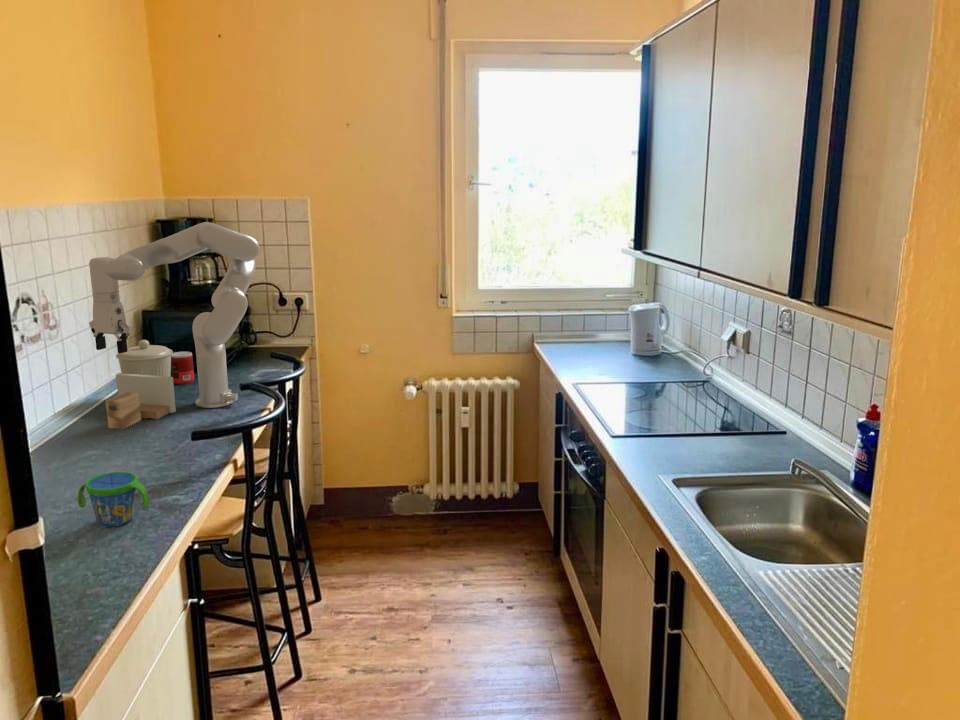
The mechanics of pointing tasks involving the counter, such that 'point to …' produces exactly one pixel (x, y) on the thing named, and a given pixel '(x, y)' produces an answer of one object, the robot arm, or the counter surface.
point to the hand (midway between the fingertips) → (111, 350)
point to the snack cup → (113, 497)
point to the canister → (146, 360)
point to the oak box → (123, 410)
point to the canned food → (182, 367)
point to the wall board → (149, 393)
